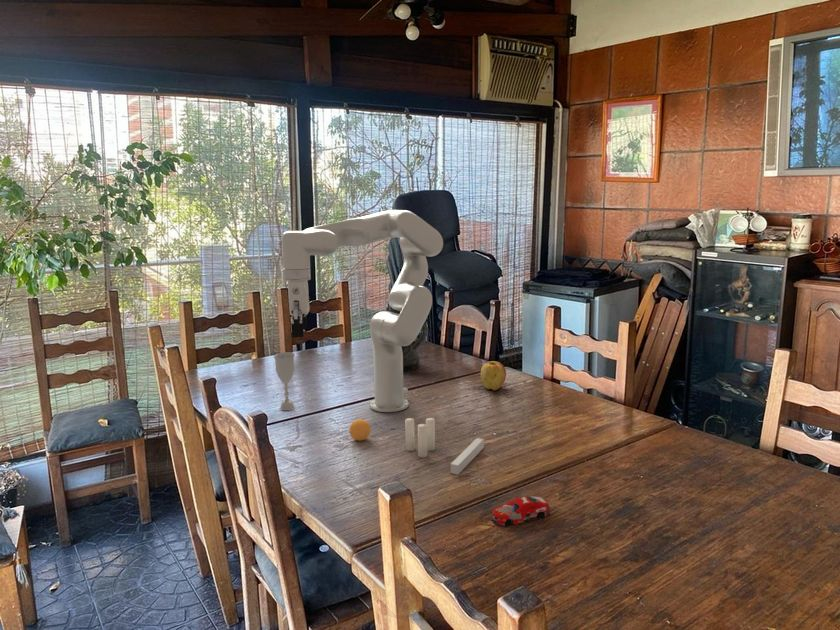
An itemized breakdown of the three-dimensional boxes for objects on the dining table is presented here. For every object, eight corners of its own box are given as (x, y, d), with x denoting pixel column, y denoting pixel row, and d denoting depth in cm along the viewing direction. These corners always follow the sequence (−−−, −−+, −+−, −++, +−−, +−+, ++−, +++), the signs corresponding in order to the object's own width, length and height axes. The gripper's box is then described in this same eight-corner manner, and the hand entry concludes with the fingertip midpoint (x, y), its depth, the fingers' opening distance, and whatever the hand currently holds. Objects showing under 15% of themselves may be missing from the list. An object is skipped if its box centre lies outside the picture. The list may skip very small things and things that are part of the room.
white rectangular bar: (476, 446, 172) (476, 438, 171) (483, 447, 171) (483, 439, 171) (450, 473, 156) (450, 463, 156) (458, 474, 155) (458, 465, 155)
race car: (498, 530, 130) (499, 513, 130) (487, 518, 135) (487, 501, 135) (553, 518, 135) (553, 501, 134) (540, 506, 140) (540, 490, 139)
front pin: (408, 446, 173) (407, 417, 171) (416, 448, 171) (415, 418, 170) (404, 450, 170) (403, 420, 169) (412, 451, 169) (411, 421, 168)
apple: (511, 389, 220) (511, 362, 218) (491, 394, 215) (492, 366, 213) (494, 383, 228) (494, 356, 226) (475, 387, 223) (475, 360, 221)
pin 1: (420, 453, 168) (420, 423, 166) (428, 454, 167) (428, 424, 165) (416, 456, 166) (416, 426, 164) (424, 458, 165) (424, 427, 163)
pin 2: (428, 446, 173) (428, 417, 171) (436, 447, 172) (436, 418, 170) (424, 449, 170) (424, 420, 169) (432, 451, 169) (432, 421, 168)
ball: (357, 434, 182) (356, 414, 181) (374, 437, 179) (374, 417, 178) (345, 441, 177) (344, 421, 175) (363, 445, 174) (363, 425, 173)
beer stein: (378, 361, 259) (376, 302, 254) (424, 359, 261) (423, 300, 256) (379, 373, 243) (378, 310, 238) (429, 370, 245) (428, 308, 240)
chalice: (292, 412, 201) (289, 358, 197) (273, 411, 202) (269, 357, 199) (301, 404, 208) (298, 352, 204) (282, 403, 209) (279, 351, 206)
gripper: (307, 278, 169) (310, 339, 173) (312, 270, 186) (315, 326, 189) (279, 278, 169) (282, 340, 172) (287, 271, 186) (290, 327, 189)
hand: (299, 333), depth 181 cm, fingers open, 9 cm apart
